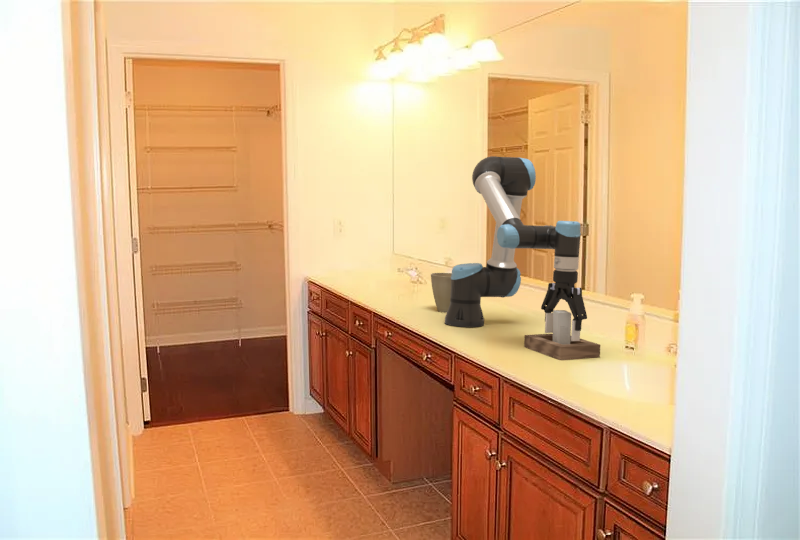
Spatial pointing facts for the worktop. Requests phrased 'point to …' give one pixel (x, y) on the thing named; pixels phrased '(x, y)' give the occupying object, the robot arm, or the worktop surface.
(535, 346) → the tray
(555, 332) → the skincare box
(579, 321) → the robot arm
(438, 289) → the plant pot
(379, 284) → the worktop surface
